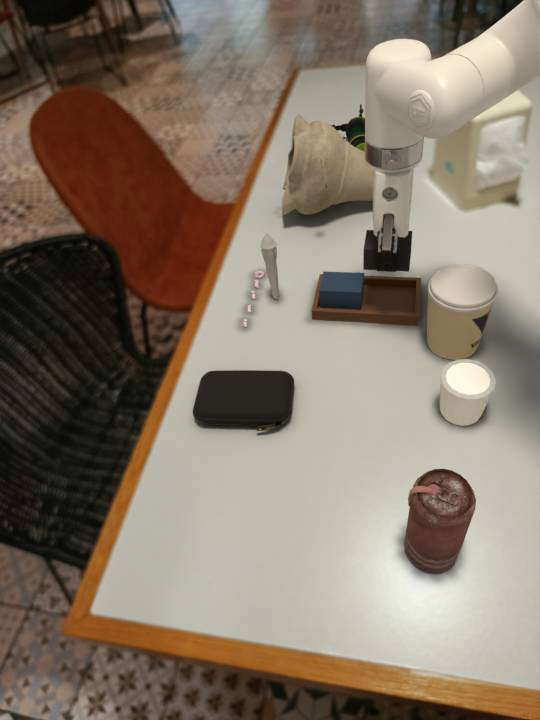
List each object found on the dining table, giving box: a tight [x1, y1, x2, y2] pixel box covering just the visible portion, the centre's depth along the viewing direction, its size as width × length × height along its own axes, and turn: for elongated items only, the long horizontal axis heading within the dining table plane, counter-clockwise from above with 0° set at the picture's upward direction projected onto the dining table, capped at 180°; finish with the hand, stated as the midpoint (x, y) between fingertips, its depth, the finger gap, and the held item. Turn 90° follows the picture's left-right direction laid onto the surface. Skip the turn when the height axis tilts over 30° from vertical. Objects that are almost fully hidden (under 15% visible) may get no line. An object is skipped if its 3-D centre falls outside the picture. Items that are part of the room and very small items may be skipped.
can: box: [404, 468, 477, 574], centre depth 57 cm, size 6×6×14 cm
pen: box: [259, 233, 280, 301], centre depth 89 cm, size 2×3×14 cm
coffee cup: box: [426, 263, 499, 361], centre depth 78 cm, size 9×9×12 cm
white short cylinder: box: [439, 358, 497, 427], centre depth 71 cm, size 7×7×7 cm
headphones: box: [330, 103, 365, 152], centre depth 121 cm, size 16×10×20 cm
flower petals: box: [242, 269, 266, 328], centre depth 95 cm, size 15×2×1 cm, turn 170°
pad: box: [362, 229, 413, 272], centre depth 82 cm, size 7×5×4 cm
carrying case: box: [192, 369, 295, 432], centre depth 78 cm, size 11×3×15 cm
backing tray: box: [310, 273, 422, 326], centre depth 90 cm, size 18×10×2 cm, turn 78°
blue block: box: [319, 271, 365, 310], centre depth 90 cm, size 7×5×4 cm
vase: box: [281, 112, 373, 216], centre depth 104 cm, size 22×22×28 cm
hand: (387, 257), depth 83 cm, fingers closed on pad, 5 cm apart
